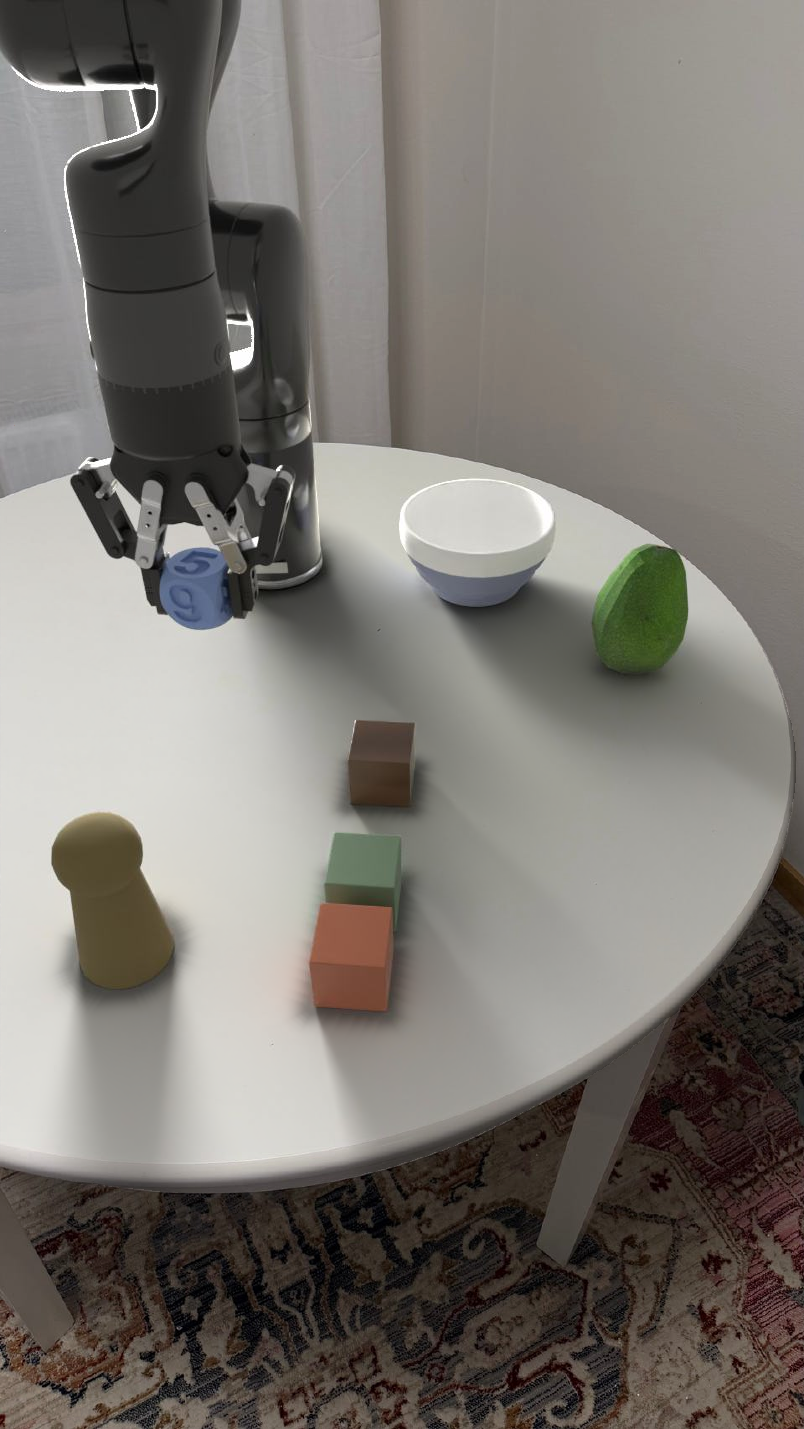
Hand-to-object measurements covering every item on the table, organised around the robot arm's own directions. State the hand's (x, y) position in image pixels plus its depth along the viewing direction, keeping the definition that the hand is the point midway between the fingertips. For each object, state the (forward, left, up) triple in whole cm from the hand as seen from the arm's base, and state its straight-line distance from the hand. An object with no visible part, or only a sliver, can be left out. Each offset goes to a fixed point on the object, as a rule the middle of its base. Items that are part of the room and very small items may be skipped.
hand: (204, 609), depth 67 cm
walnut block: (0, +12, -16) cm, 19 cm away
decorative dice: (0, 0, -1) cm, 1 cm away
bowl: (-29, +18, -16) cm, 37 cm away
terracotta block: (+17, +12, -16) cm, 26 cm away
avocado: (-17, +32, -16) cm, 39 cm away
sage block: (+11, +12, -16) cm, 23 cm away
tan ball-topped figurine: (+16, -3, -16) cm, 23 cm away
